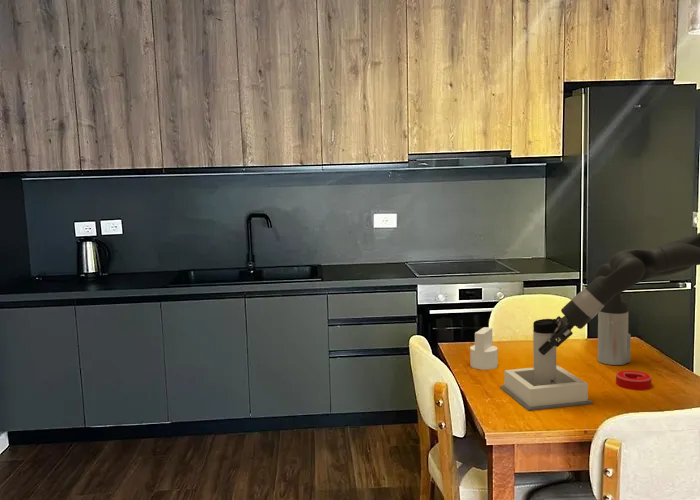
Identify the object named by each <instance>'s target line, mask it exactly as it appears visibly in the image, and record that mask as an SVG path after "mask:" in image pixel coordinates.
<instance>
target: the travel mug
mask: <svg viewBox="0 0 700 500" xmlns="http://www.w3.org/2000/svg"><path fill="white" fill-rule="evenodd" d="M556 322H557V319H556V318H541V319H536V320H535V321H533V328H532V329H533V330H532V332H533V334H532V336H533V337H532V340H533V341H532V342H533V345H532V346H533V348H532V349H533V353H532V355H533V368H534V386H541V385H551V384H557V383H556V382H557V375H556V365H557V347H556V346H555V347H554V346H553V348H552V349H550V350H549V351H548V352H547V353H546V354H545V355H542V354H541V353H540V352H539V350H538V349H539V348H540V347H541V346H542V345H543V344H544V343H545V342H546V341H548V339H549V338H550V337H551V335H552V332H553V330H554V329H555V328H556V324H555V323H556ZM555 340H557V339H555Z"/></svg>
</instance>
